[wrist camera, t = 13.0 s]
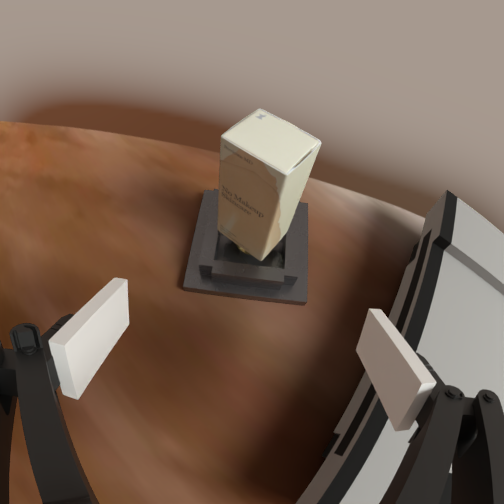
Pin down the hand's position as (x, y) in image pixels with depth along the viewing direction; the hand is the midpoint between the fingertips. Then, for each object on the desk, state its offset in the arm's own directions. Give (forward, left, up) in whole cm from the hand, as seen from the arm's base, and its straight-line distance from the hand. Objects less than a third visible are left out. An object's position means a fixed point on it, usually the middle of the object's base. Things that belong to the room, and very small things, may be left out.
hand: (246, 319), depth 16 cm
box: (0, +10, -8) cm, 13 cm away
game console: (+22, -3, -11) cm, 24 cm away
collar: (0, +10, -11) cm, 15 cm away
